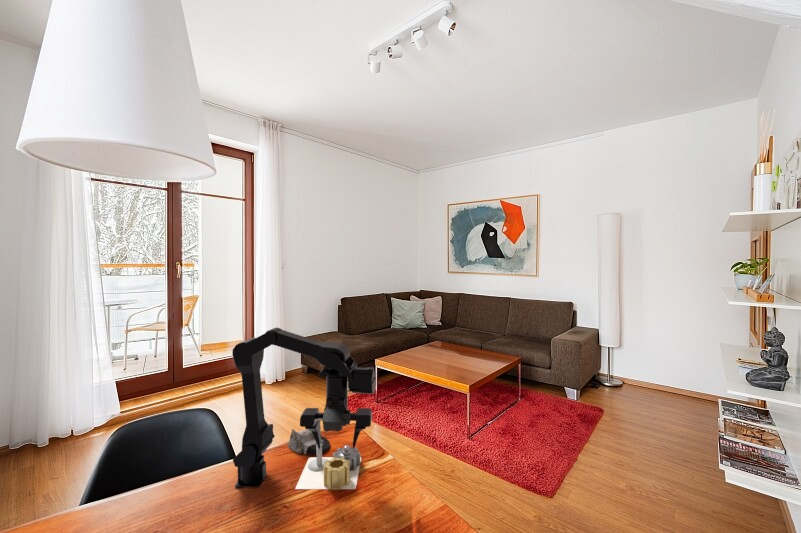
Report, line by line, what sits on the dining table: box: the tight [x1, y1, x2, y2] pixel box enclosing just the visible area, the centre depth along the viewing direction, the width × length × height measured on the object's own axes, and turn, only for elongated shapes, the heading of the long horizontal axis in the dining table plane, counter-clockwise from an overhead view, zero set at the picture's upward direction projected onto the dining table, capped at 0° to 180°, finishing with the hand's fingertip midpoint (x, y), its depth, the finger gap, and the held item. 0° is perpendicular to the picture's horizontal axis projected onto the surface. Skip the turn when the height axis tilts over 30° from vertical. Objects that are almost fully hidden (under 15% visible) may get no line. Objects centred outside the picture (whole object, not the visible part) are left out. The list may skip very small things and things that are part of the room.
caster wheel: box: [287, 428, 331, 456], centre depth 116 cm, size 7×11×10 cm
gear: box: [332, 444, 361, 471], centre depth 107 cm, size 8×8×6 cm
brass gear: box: [324, 456, 350, 491], centre depth 99 cm, size 7×7×5 cm
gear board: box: [294, 444, 362, 490], centre depth 103 cm, size 16×15×8 cm
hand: (336, 448), depth 99 cm, fingers open, 9 cm apart
